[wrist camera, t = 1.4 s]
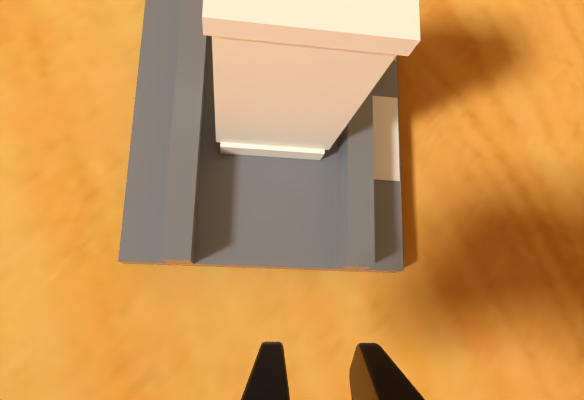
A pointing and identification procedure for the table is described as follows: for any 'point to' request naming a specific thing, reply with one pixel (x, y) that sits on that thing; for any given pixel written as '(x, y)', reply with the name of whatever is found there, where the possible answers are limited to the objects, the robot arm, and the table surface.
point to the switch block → (251, 173)
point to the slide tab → (299, 68)
